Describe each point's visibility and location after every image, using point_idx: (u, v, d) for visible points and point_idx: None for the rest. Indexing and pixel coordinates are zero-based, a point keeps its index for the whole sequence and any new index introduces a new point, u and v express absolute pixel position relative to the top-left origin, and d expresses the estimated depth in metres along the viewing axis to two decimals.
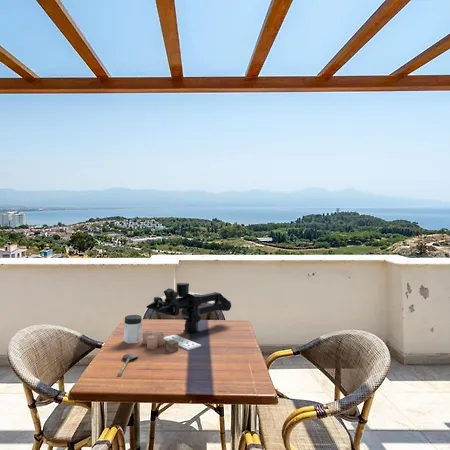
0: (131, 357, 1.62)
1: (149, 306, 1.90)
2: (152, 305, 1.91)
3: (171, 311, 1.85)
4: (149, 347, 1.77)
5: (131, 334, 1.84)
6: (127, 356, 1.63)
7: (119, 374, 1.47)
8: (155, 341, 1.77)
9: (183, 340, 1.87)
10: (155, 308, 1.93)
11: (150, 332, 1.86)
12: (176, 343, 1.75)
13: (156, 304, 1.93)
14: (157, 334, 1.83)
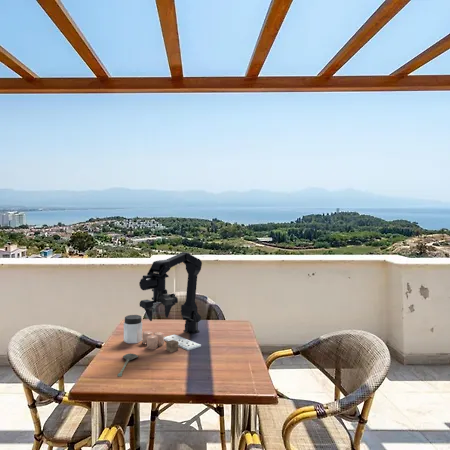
0: (131, 357, 1.62)
1: None
2: None
3: None
4: (149, 347, 1.77)
5: (131, 334, 1.84)
6: (127, 356, 1.62)
7: (119, 374, 1.47)
8: (155, 341, 1.77)
9: (183, 340, 1.87)
10: None
11: (150, 332, 1.86)
12: (176, 343, 1.75)
13: None
14: (157, 334, 1.83)
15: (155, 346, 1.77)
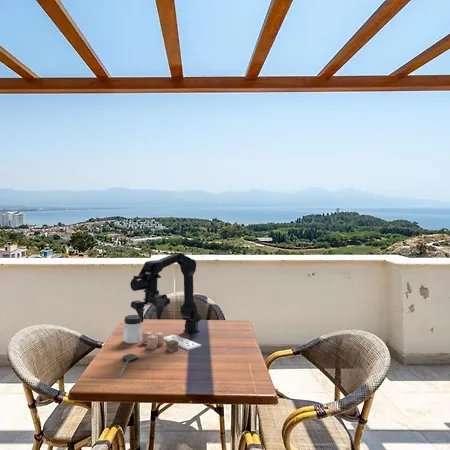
0: (131, 358, 1.62)
1: None
2: None
3: None
4: (149, 347, 1.77)
5: (131, 334, 1.84)
6: (127, 357, 1.62)
7: (119, 375, 1.47)
8: (155, 341, 1.77)
9: (183, 340, 1.87)
10: None
11: (150, 332, 1.86)
12: (176, 343, 1.75)
13: None
14: (157, 334, 1.83)
15: (155, 346, 1.77)
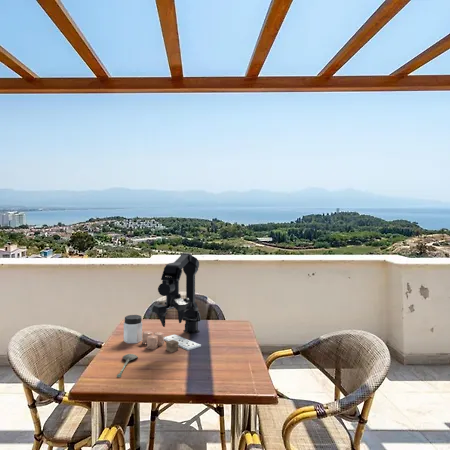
0: (130, 358, 1.61)
1: None
2: None
3: None
4: (149, 347, 1.77)
5: (131, 334, 1.84)
6: (126, 357, 1.62)
7: (118, 375, 1.46)
8: (155, 341, 1.77)
9: (183, 340, 1.87)
10: None
11: (150, 332, 1.86)
12: (176, 343, 1.75)
13: None
14: (157, 334, 1.83)
15: (155, 346, 1.77)
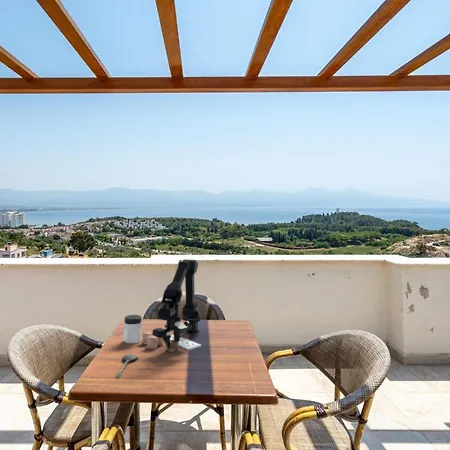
0: (130, 358, 1.61)
1: None
2: None
3: None
4: (149, 347, 1.77)
5: (131, 334, 1.84)
6: (126, 357, 1.61)
7: (117, 376, 1.46)
8: (155, 341, 1.77)
9: (183, 340, 1.87)
10: None
11: (150, 332, 1.86)
12: (176, 343, 1.75)
13: None
14: None
15: (155, 346, 1.77)
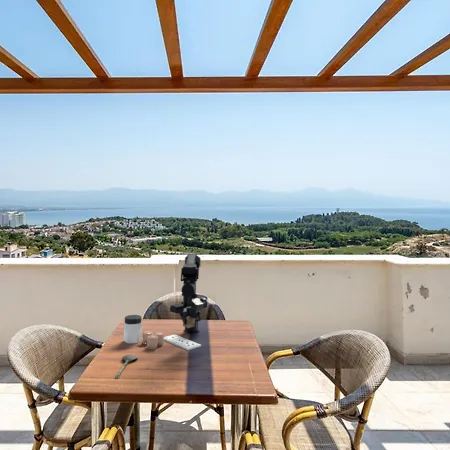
0: (130, 359, 1.61)
1: None
2: None
3: None
4: (148, 347, 1.77)
5: (131, 334, 1.84)
6: (126, 358, 1.61)
7: (116, 376, 1.46)
8: (155, 341, 1.77)
9: (183, 340, 1.87)
10: None
11: (150, 332, 1.86)
12: (193, 319, 1.80)
13: None
14: (157, 334, 1.83)
15: (155, 346, 1.77)
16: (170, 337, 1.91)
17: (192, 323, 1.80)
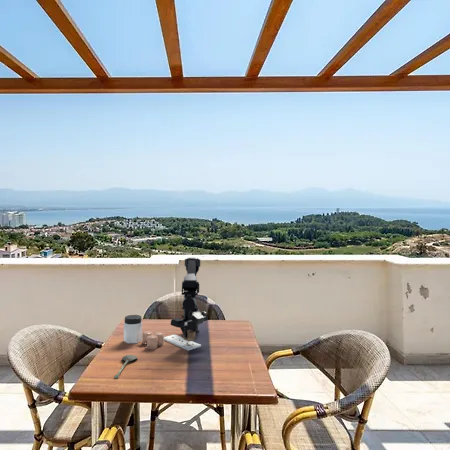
0: (130, 359, 1.60)
1: None
2: None
3: None
4: (148, 347, 1.77)
5: (131, 334, 1.84)
6: (126, 358, 1.61)
7: (116, 376, 1.45)
8: (154, 341, 1.77)
9: (183, 340, 1.87)
10: None
11: (150, 332, 1.86)
12: (193, 333, 1.80)
13: None
14: (157, 334, 1.83)
15: (154, 346, 1.77)
16: (170, 337, 1.91)
17: (193, 337, 1.80)
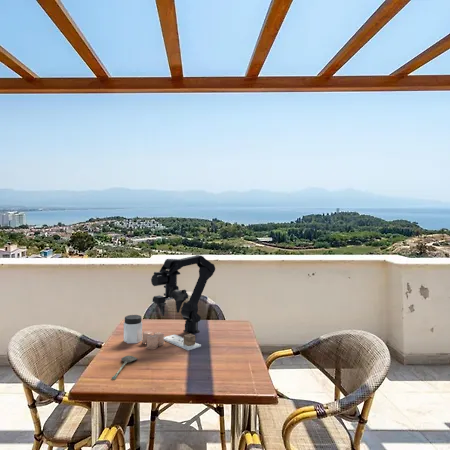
0: (129, 360, 1.59)
1: None
2: None
3: None
4: (148, 346, 1.77)
5: (131, 334, 1.84)
6: (125, 359, 1.60)
7: (113, 377, 1.44)
8: (154, 341, 1.77)
9: (183, 340, 1.87)
10: None
11: (150, 332, 1.86)
12: (193, 337, 1.81)
13: None
14: (157, 334, 1.83)
15: (154, 346, 1.77)
16: (170, 337, 1.91)
17: (193, 341, 1.80)
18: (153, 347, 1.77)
